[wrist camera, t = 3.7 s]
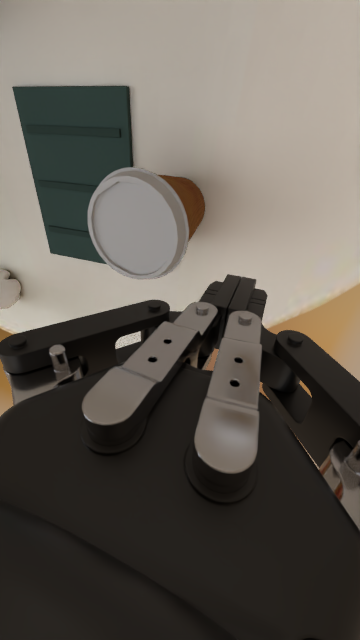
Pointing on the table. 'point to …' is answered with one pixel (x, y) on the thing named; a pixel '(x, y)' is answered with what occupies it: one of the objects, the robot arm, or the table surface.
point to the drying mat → (73, 155)
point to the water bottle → (8, 290)
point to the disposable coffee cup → (144, 221)
